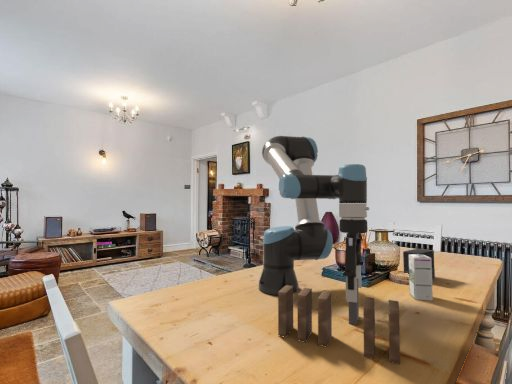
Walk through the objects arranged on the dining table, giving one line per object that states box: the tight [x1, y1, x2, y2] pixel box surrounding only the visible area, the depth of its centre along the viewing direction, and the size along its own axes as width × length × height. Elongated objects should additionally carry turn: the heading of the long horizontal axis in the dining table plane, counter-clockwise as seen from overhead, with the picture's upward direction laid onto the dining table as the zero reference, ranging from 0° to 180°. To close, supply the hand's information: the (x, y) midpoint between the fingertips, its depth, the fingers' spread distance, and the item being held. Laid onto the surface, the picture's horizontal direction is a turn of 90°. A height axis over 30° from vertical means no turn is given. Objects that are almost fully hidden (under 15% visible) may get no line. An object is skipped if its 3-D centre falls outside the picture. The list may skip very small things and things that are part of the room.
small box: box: [402, 248, 436, 279], centre depth 119 cm, size 13×7×12 cm, turn 123°
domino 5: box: [363, 296, 376, 359], centre depth 62 cm, size 2×6×11 cm, turn 154°
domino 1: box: [277, 285, 294, 338], centre depth 71 cm, size 2×6×11 cm, turn 154°
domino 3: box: [317, 290, 333, 348], centre depth 67 cm, size 2×6×11 cm, turn 154°
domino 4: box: [348, 279, 360, 326], centre depth 78 cm, size 2×6×11 cm, turn 154°
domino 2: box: [297, 287, 313, 343], centre depth 69 cm, size 2×6×11 cm, turn 154°
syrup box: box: [408, 254, 434, 302], centre depth 96 cm, size 6×6×14 cm
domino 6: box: [388, 299, 401, 365], centre depth 60 cm, size 2×6×11 cm, turn 154°
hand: (354, 293), depth 78 cm, fingers open, 13 cm apart
